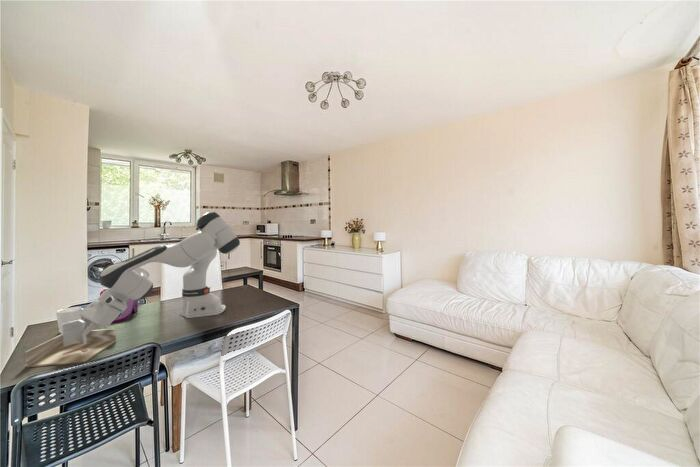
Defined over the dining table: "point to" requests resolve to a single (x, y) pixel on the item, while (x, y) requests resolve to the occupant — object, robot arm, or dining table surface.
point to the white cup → (68, 316)
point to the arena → (69, 349)
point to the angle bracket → (73, 332)
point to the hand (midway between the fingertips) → (80, 332)
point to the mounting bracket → (128, 310)
